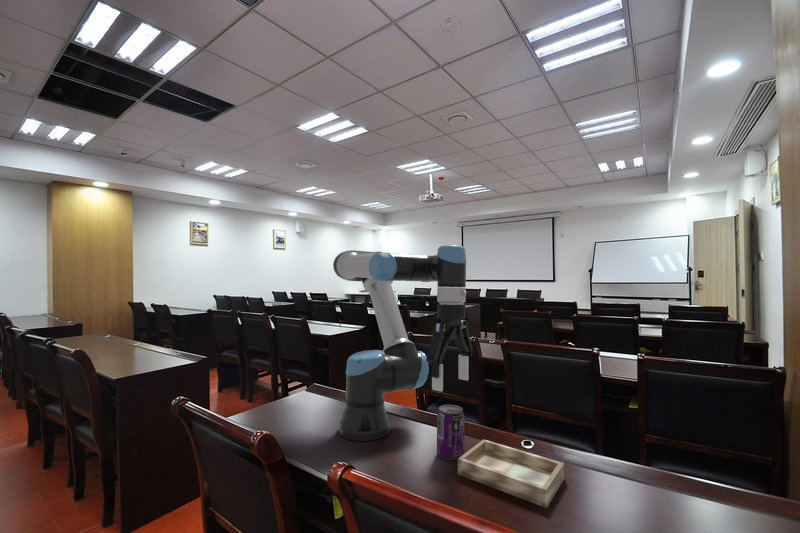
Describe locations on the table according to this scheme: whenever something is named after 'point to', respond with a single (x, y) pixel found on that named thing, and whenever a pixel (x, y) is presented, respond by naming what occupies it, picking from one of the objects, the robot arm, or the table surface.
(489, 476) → the crate
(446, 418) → the beverage can
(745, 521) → the table surface
